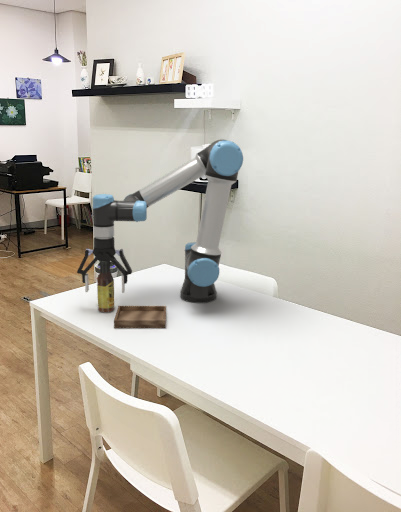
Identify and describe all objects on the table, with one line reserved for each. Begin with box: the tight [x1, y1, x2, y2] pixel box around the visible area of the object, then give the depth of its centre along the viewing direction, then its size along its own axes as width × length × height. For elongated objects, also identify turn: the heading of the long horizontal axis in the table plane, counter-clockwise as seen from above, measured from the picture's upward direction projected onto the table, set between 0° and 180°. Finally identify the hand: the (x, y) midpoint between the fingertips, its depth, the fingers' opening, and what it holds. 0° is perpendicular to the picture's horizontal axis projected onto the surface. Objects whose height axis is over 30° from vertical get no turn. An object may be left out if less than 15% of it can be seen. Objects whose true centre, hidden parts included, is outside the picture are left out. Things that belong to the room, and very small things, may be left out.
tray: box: [113, 305, 167, 329], centre depth 178 cm, size 18×14×3 cm
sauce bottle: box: [96, 260, 115, 314], centre depth 185 cm, size 7×6×20 cm
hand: (105, 291), depth 186 cm, fingers open, 13 cm apart
